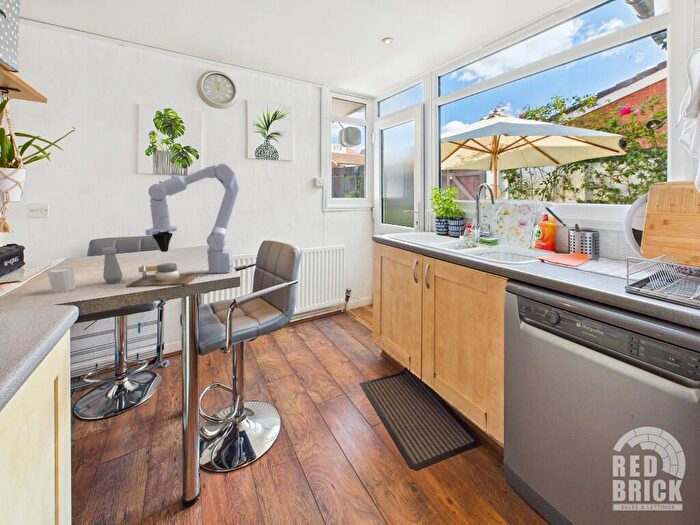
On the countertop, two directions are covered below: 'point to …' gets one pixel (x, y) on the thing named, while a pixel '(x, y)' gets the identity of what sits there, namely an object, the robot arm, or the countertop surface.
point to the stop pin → (144, 275)
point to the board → (182, 280)
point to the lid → (161, 268)
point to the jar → (167, 275)
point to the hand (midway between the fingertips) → (164, 251)
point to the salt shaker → (111, 266)
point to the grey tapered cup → (62, 279)
